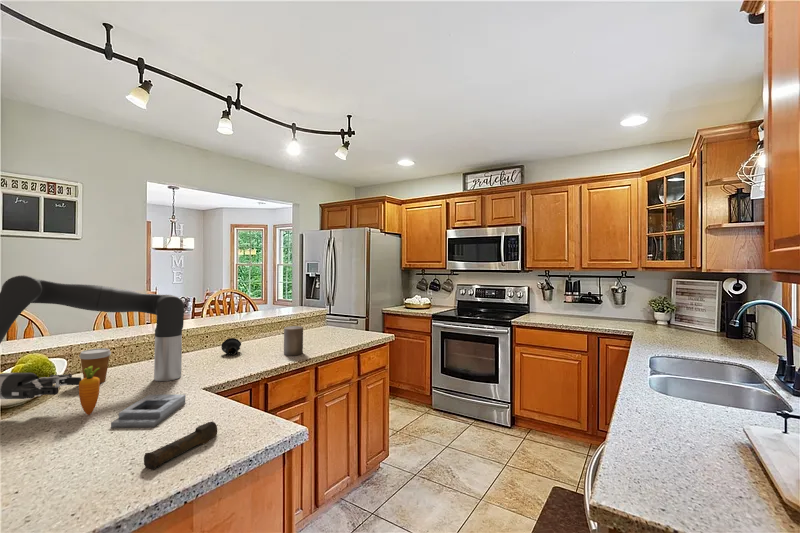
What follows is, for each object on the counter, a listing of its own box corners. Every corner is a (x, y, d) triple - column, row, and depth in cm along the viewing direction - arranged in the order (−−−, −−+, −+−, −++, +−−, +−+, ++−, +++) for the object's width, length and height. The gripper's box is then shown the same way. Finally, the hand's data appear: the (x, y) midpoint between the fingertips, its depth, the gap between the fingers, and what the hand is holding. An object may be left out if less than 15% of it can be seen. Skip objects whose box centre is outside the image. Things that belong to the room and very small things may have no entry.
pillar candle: (306, 353, 194) (307, 324, 194) (292, 356, 186) (292, 327, 186) (294, 350, 199) (294, 322, 199) (279, 354, 191) (279, 325, 191)
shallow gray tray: (149, 403, 122) (149, 394, 122) (185, 403, 123) (185, 394, 123) (110, 427, 104) (111, 417, 104) (153, 427, 105) (153, 417, 105)
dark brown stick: (153, 473, 84) (154, 452, 83) (142, 468, 85) (142, 448, 85) (223, 438, 101) (224, 421, 101) (213, 435, 102) (214, 418, 102)
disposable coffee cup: (92, 387, 136) (93, 354, 136) (71, 384, 138) (72, 352, 138) (117, 379, 145) (117, 348, 145) (97, 377, 147) (97, 347, 147)
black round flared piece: (219, 348, 180) (216, 330, 195) (228, 365, 185) (224, 347, 200) (238, 340, 184) (234, 323, 198) (246, 357, 189) (242, 339, 203)
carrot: (86, 411, 115) (87, 363, 114) (103, 411, 115) (104, 363, 115) (73, 418, 110) (74, 368, 110) (91, 418, 110) (92, 368, 110)
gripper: (-13, 381, 104) (49, 380, 105) (33, 366, 118) (87, 366, 119) (-13, 407, 104) (48, 407, 105) (33, 390, 118) (87, 389, 119)
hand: (69, 385), depth 112 cm, fingers open, 8 cm apart
